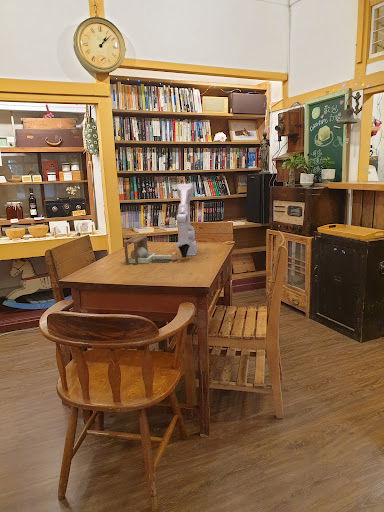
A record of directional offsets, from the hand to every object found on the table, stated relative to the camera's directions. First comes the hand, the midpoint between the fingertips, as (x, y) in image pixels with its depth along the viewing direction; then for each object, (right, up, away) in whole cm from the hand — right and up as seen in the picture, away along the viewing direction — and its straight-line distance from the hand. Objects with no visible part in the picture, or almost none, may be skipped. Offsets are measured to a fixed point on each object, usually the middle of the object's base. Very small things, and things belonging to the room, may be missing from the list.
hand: (184, 257), depth 215 cm
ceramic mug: (-26, -2, +5) cm, 26 cm away
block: (-19, -2, +4) cm, 19 cm away
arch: (-28, -2, +5) cm, 29 cm away
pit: (-13, -2, +3) cm, 13 cm away
